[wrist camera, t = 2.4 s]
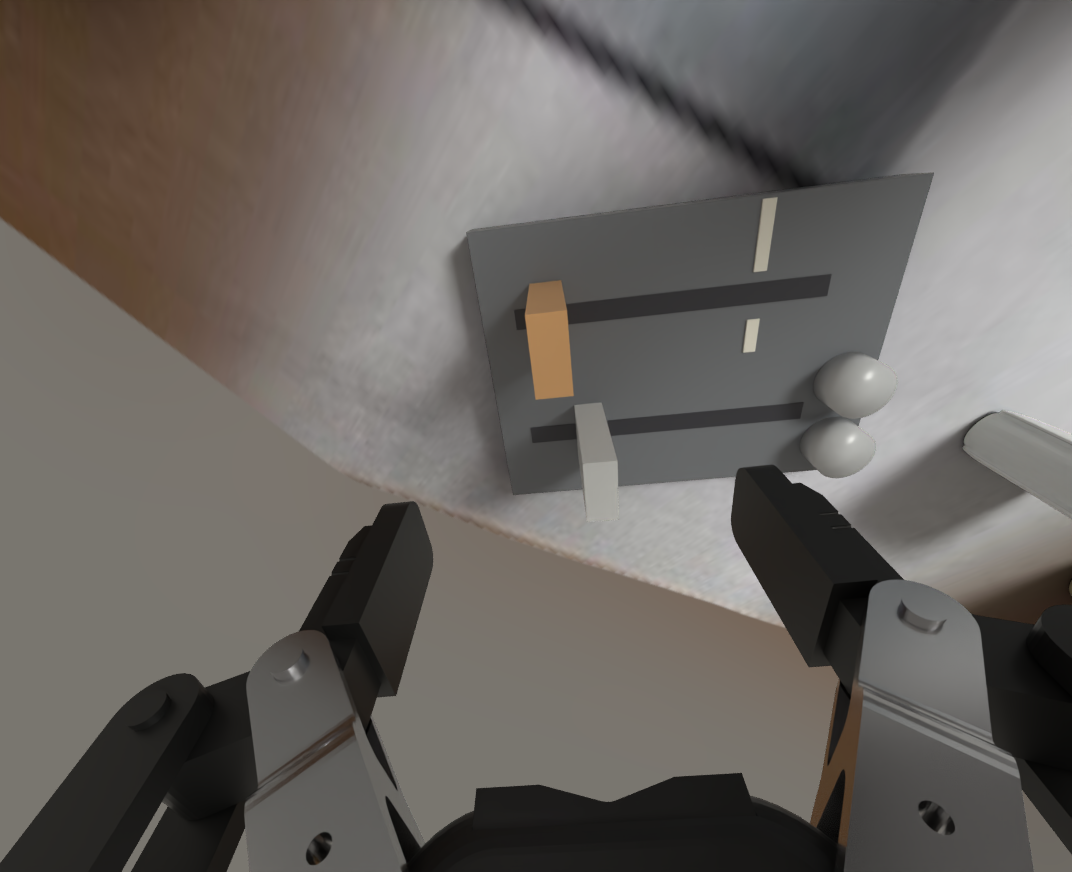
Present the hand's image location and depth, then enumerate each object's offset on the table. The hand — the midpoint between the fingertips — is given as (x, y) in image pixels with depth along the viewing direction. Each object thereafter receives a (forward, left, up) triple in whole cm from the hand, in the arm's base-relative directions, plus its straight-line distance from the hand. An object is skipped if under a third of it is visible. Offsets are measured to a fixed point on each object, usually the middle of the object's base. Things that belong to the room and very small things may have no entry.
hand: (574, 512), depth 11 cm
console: (+3, +8, -19) cm, 21 cm away
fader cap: (-1, 0, -17) cm, 17 cm away
